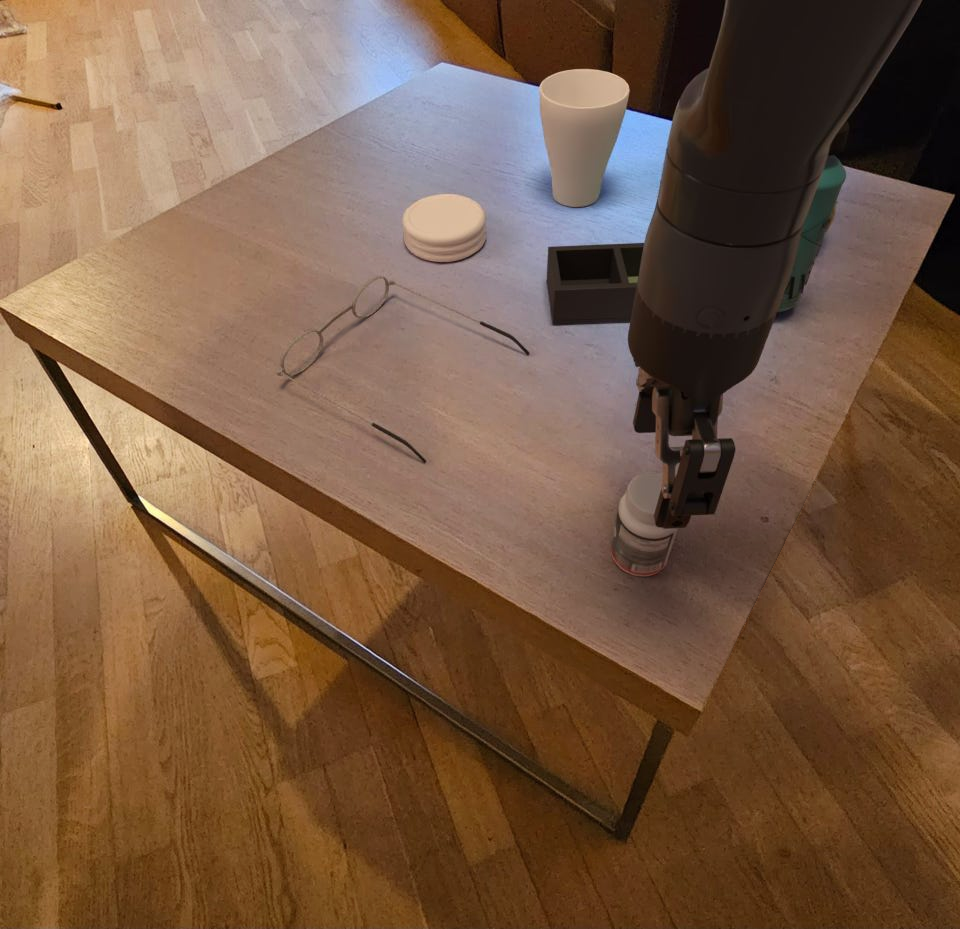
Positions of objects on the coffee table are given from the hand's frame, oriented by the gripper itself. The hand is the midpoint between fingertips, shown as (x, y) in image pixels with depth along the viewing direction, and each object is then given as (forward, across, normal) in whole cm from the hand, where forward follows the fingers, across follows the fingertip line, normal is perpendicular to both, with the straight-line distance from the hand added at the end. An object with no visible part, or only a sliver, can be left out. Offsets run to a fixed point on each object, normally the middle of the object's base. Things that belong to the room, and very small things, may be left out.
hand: (657, 473), depth 51 cm
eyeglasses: (+11, +23, +20) cm, 32 cm away
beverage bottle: (+10, +31, -19) cm, 38 cm away
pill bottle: (+11, 0, 0) cm, 11 cm away
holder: (+10, +33, -3) cm, 35 cm away
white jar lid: (+11, +46, +16) cm, 50 cm away
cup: (+11, +55, -1) cm, 56 cm away
